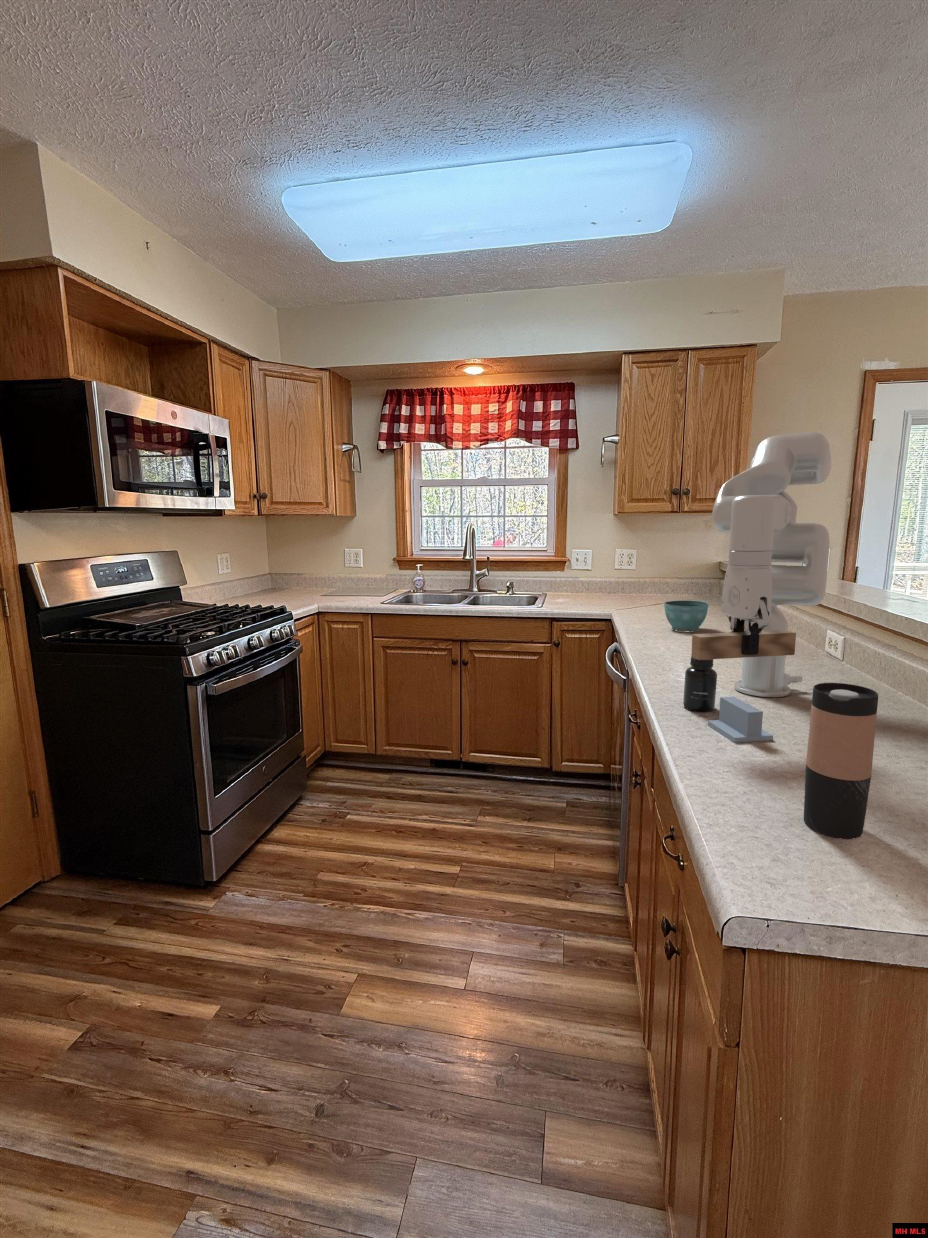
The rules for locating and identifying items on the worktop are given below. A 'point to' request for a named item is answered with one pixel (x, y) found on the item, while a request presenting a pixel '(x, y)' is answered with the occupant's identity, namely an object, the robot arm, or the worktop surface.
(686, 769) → the worktop surface
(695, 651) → the walnut bar
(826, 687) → the travel mug
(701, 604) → the teal bowl
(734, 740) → the fulcrum
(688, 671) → the supplement bottle
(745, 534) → the robot arm
